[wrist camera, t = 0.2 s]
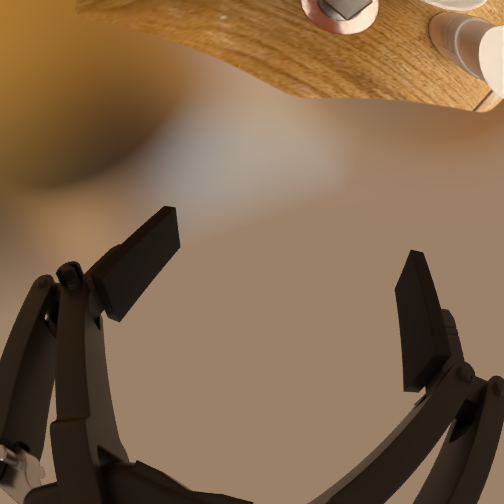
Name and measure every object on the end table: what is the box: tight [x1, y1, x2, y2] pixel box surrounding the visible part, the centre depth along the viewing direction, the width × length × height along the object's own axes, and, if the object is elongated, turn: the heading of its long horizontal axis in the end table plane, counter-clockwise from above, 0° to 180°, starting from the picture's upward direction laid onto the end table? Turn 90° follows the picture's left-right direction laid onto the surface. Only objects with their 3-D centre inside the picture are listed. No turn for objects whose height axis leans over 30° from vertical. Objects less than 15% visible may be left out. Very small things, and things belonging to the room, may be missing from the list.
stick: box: [323, 0, 373, 21], centre depth 15 cm, size 2×2×20 cm
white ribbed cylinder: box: [429, 12, 504, 98], centre depth 14 cm, size 7×7×15 cm
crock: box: [301, 0, 379, 35], centre depth 18 cm, size 7×7×9 cm
